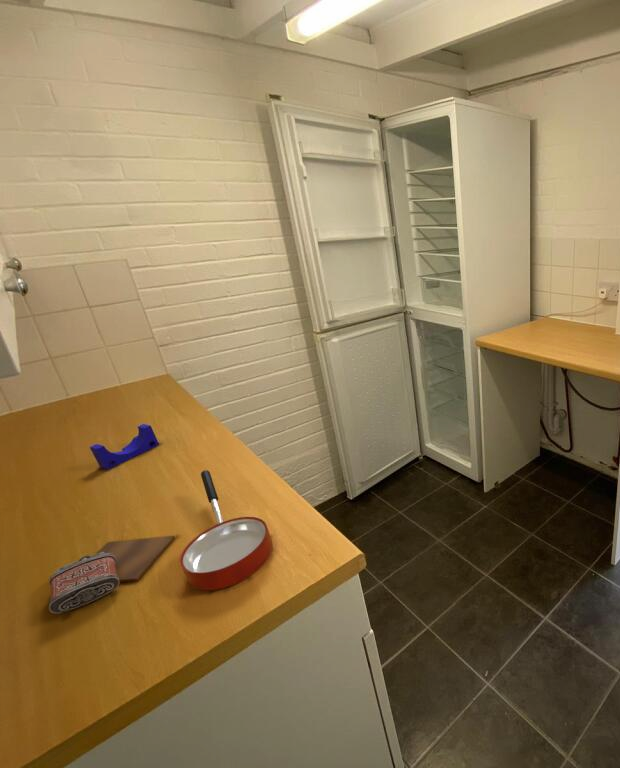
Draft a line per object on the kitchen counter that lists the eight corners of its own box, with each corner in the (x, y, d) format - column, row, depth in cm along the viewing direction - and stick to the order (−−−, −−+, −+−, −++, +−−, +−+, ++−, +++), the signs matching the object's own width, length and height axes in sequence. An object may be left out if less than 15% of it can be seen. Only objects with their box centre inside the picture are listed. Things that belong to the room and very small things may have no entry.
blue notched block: (148, 442, 115) (140, 423, 113) (159, 444, 114) (150, 425, 111) (96, 466, 105) (85, 446, 102) (107, 469, 103) (96, 449, 101)
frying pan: (163, 514, 87) (151, 490, 84) (233, 485, 95) (224, 462, 93) (198, 606, 66) (184, 577, 64) (284, 558, 75) (274, 531, 72)
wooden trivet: (62, 588, 71) (61, 586, 70) (109, 544, 80) (107, 542, 79) (138, 580, 72) (136, 578, 71) (175, 538, 81) (174, 535, 80)
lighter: (122, 588, 70) (117, 556, 76) (115, 572, 69) (110, 541, 75) (53, 618, 65) (53, 581, 71) (45, 601, 63) (46, 565, 70)
